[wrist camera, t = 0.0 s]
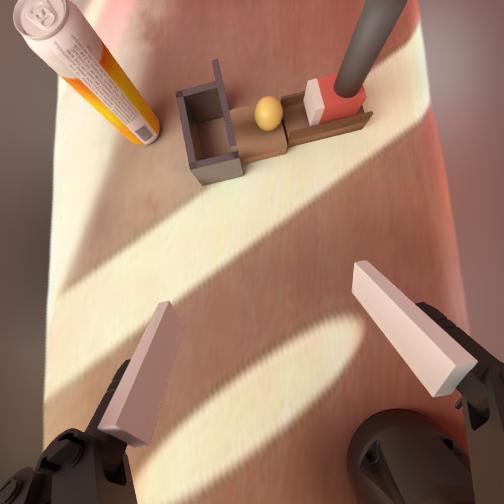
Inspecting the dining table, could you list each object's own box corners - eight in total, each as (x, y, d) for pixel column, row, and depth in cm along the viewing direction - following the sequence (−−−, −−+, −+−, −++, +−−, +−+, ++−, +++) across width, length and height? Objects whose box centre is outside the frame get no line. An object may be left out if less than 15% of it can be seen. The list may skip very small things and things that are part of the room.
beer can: (147, 108, 32) (44, -31, 17) (169, 131, 31) (82, 8, 16) (122, 131, 32) (-3, 13, 17) (143, 154, 31) (33, 53, 16)
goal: (243, 175, 30) (236, 145, 22) (202, 185, 30) (181, 159, 23) (229, 109, 31) (217, 58, 23) (189, 119, 31) (165, 73, 24)
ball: (283, 133, 28) (287, 111, 24) (258, 140, 28) (257, 119, 24) (278, 110, 28) (280, 84, 24) (252, 116, 28) (251, 91, 24)
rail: (361, 129, 29) (372, 113, 26) (287, 147, 30) (290, 133, 27) (352, 95, 30) (361, 76, 27) (279, 113, 30) (281, 97, 27)
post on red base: (355, 116, 27) (417, 13, 16) (310, 127, 27) (340, 34, 16) (347, 89, 27) (403, -29, 16) (303, 100, 28) (328, -8, 17)
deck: (286, 153, 30) (287, 145, 28) (241, 164, 30) (239, 157, 28) (275, 109, 30) (276, 98, 28) (231, 120, 31) (229, 110, 29)
